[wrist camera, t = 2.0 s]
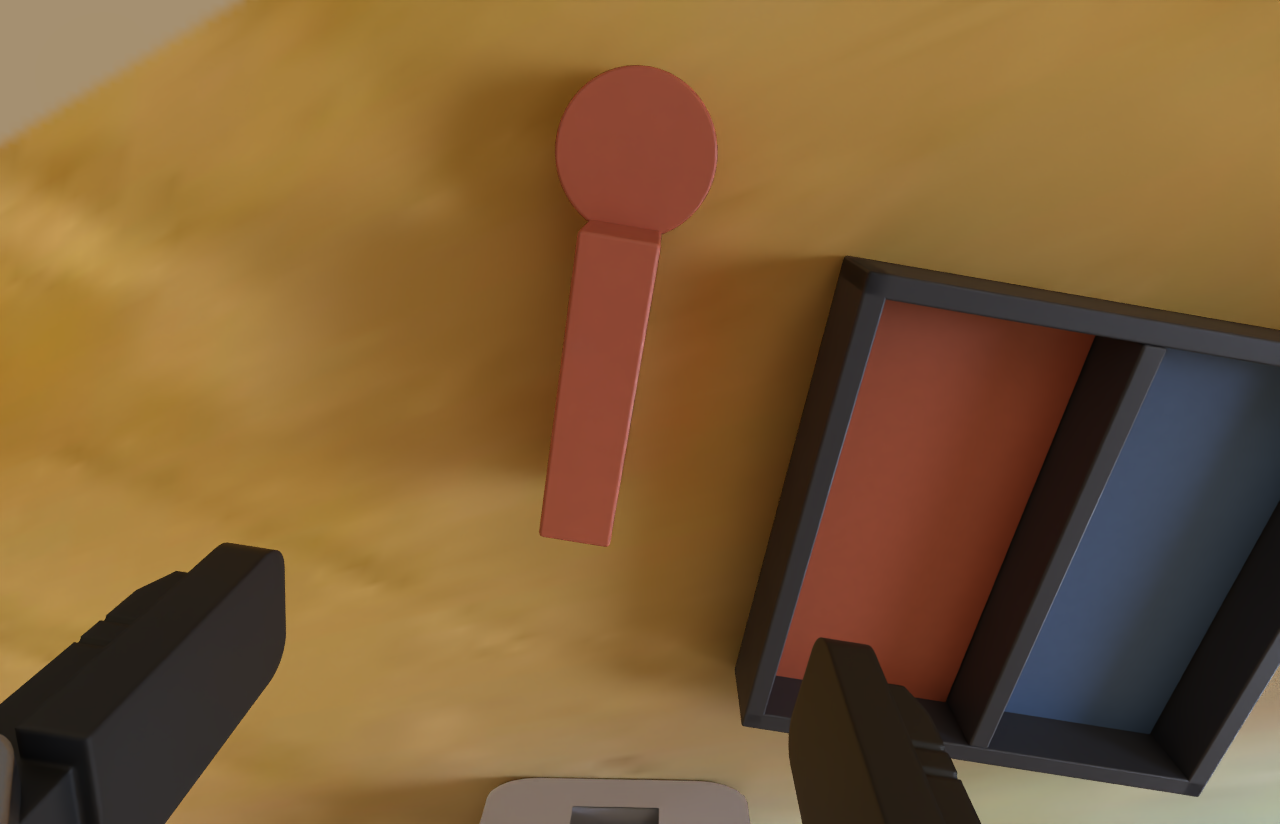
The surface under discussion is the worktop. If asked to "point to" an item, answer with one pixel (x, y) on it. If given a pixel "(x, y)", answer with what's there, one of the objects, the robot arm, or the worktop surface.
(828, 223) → the worktop surface
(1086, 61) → the worktop surface
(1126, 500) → the cutlery tray
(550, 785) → the charger
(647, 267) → the terracotta spoon
